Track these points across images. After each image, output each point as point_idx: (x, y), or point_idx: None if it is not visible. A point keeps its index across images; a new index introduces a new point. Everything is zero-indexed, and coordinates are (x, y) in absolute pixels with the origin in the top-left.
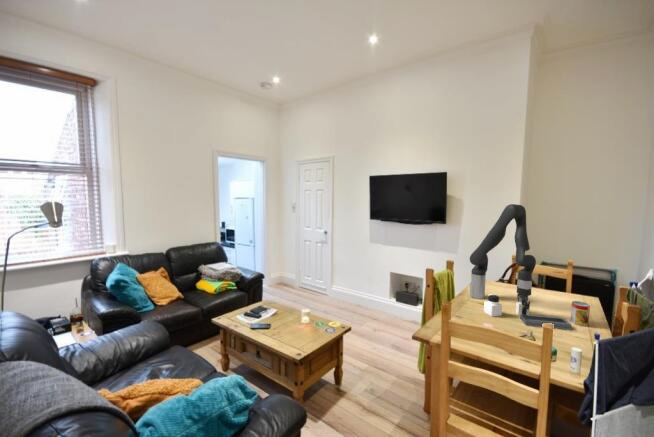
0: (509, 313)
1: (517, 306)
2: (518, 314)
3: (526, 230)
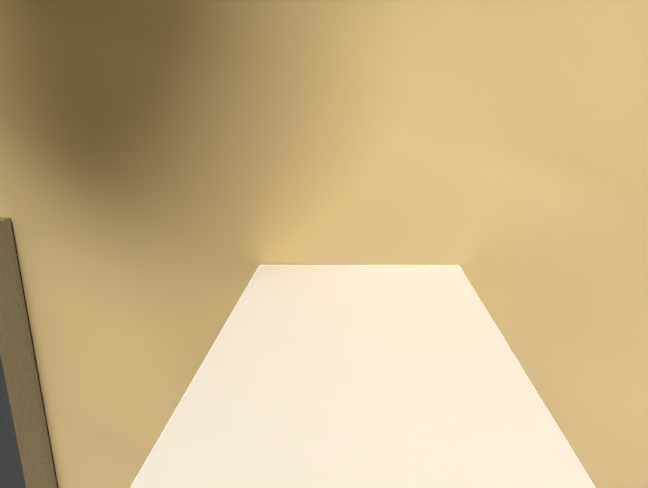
0: (323, 29)
1: (360, 391)
2: (259, 276)
3: None
